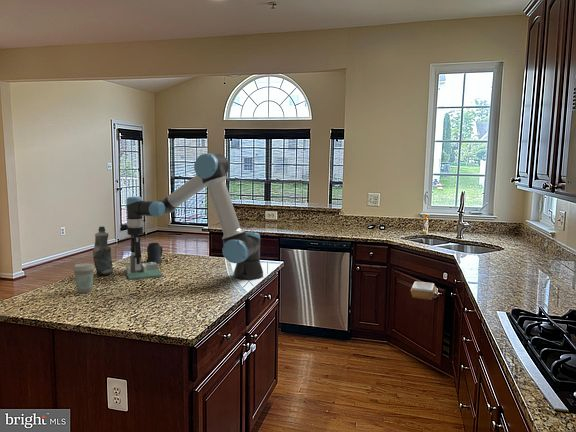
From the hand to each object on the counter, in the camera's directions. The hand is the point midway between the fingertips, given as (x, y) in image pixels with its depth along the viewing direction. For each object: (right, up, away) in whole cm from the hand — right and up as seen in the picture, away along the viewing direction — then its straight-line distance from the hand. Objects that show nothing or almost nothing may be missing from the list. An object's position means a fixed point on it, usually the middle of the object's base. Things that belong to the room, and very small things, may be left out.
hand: (136, 267), depth 220 cm
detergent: (-15, -4, -5) cm, 16 cm away
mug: (+2, 0, +27) cm, 27 cm away
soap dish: (+139, -9, -32) cm, 143 cm away
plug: (0, -2, 0) cm, 2 cm away
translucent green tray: (+4, -3, -1) cm, 5 cm away
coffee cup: (-11, -7, -33) cm, 36 cm away
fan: (+5, -1, +7) cm, 9 cm away
